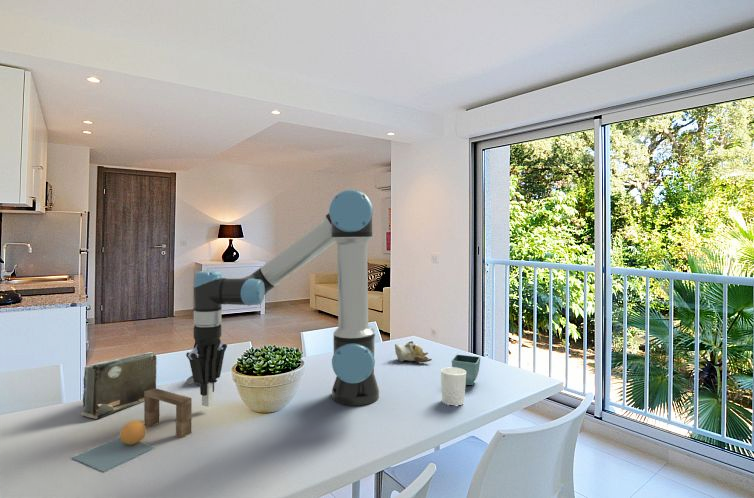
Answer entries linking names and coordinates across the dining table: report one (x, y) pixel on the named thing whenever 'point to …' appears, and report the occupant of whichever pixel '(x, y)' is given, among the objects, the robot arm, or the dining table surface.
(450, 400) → the white cup
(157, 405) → the bridge
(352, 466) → the dining table surface
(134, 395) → the radio
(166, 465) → the dining table surface
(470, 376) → the flower pot
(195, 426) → the dining table surface
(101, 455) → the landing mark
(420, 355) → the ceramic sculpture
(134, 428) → the ball
